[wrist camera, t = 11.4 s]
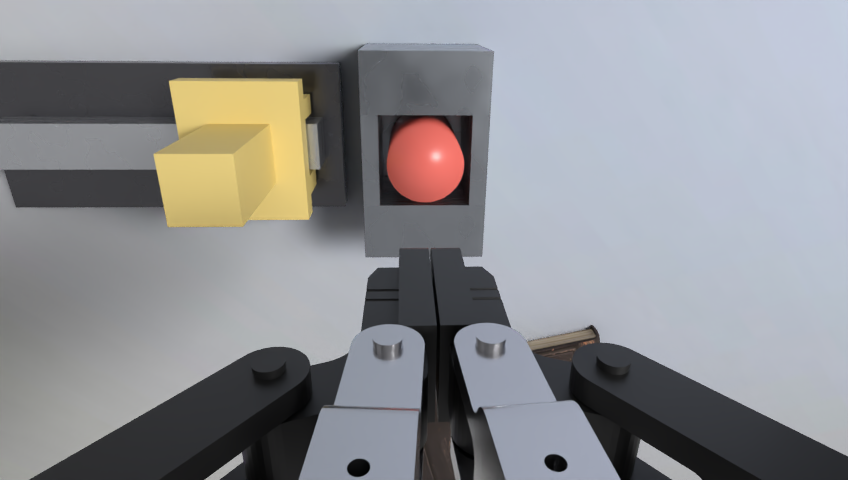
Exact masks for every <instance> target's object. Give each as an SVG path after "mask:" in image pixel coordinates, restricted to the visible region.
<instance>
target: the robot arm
mask: <svg viewBox="0 0 848 480" xmlns="http://www.w3.org/2000/svg"><path fill="white" fill-rule="evenodd" d="M435 393H436V402H437V414H438V422H450V428H451V443H450V454H451V460H452V465H453V470H454V475H455V480H671V479H670V478H668V477H667V476H665V475H664V474H662V473H661V472H659V471H657V470H656V469H654V468H653V467H651V466H650V465H648V464H647V463H645V462H644V461H642V460H640V459H639V458H637V452H638V448H639V443H640V439H642V440H643V441H645V442H646V443H648V444H650V445H651V446H653V447H655V448H656V449H658V450H659V451H661V452H663V453H664V454H666V455H668V456H669V457H671V458H672V459H674V460H676V461H677V462H679V463H681V464H682V465H684V466H685V467H687V468H689V469H690V470H692V471H693V472H695V473H696V474H697V475H698V476H699V477H700V478H701V479H702V480H848V456H846V455H843V454H841V453H839V452H837V451H835V450H833V449H831V448H829V447H827V446H825V445H823V444H821V443H819V442H817V441H815V440H813V439H811V438H809V437H807V436H805V435H803V434H801V433H799V432H797V431H795V430H793V429H791V428H789V427H787V426H785V425H783V424H781V423H779V422H777V421H775V420H773V419H771V418H769V417H767V416H765V415H763V414H761V413H758V412H756V411H754V410H752V409H750V408H748V407H746V406H744V405H742V404H740V403H738V402H736V401H734V400H732V399H730V398H728V397H726V396H724V395H722V394H720V393H718V392H716V391H714V390H712V389H710V388H708V387H706V386H704V385H702V384H700V383H698V382H696V381H694V380H692V379H690V378H688V377H686V376H684V375H682V374H680V373H678V372H676V371H674V370H671V369H669V368H667V367H665V366H663V365H661V364H659V363H657V362H655V361H653V360H651V359H649V358H647V357H645V356H643V355H641V354H639V353H637V352H635V351H633V350H631V349H628V348H626V347H623V346H620V345H615V344H610V343H592V344H587V345H584V346H582V347H580V348H578V349H577V350H576V351H575V353H574V354H573V358H572V362H569V361H564V360H558V359H553V358H549V357H544V356H541V355H538V354H536V353H534V352H532V351H531V349H530V347H529V345H528V343H527V341H526V339H525V338H524V337H523V336H522V335H521V334H520V333H519V332H518V331H516V330H514V329H512V328H511V326H510V323H509V320H508V317H507V315H506V312H505V309H504V306H503V303H502V300H501V297H500V294H499V291H498V290H497V285H496V282H495V279H494V276H492V275H491V274H490V273H489V272H488V271H486V270H485V269H484V268H483V267H465V266H464V262H463V258H462V253H461V249H460V248H431V250H430V257H429V249H428V248H399V268H377V269H376V270H375V271H374V272H373V273H372V274H371V275H370V277H369V278H368V283H367V292H366V298H365V306H364V313H363V321H362V329H361V332H360V333H359V334H357V335H356V336H355V338H354V339H353V341H352V343H351V346H350V350H349V353H347V354H346V355H344V356H342V357H340V358H338V359H335V360H332V361H329V362H325V363H321V364H316V365H312V366H310V362H309V360H308V358H307V356H306V355H305V354H303V353H302V352H300V351H298V350H296V349H292V348H287V347H270V348H265V349H261V350H257V351H254V352H252V353H249V354H247V355H245V356H244V357H242V358H240V359H238V360H237V361H235V362H233V363H231V364H230V365H228V366H226V367H225V368H223V369H221V370H219V371H218V372H216V373H214V374H212V375H211V376H209V377H207V378H205V379H204V380H202V381H200V382H198V383H197V384H195V385H193V386H191V387H190V388H188V389H186V390H185V391H183V392H181V393H179V394H178V395H176V396H174V397H172V398H171V399H169V400H167V401H165V402H164V403H162V404H160V405H158V406H157V407H155V408H153V409H151V410H150V411H148V412H146V413H145V414H143V415H141V416H139V417H138V418H136V419H134V420H132V421H131V422H129V423H127V424H125V425H124V426H122V427H120V428H118V429H117V430H115V431H113V432H111V433H110V434H108V435H106V436H105V437H103V438H101V439H99V440H98V441H96V442H94V443H92V444H91V445H89V446H87V447H85V448H84V449H82V450H80V451H78V452H77V453H75V454H73V455H71V456H70V457H68V458H66V459H65V460H63V461H61V462H59V463H58V464H56V465H54V466H52V467H51V468H49V469H47V470H45V471H44V472H42V473H40V474H38V475H37V476H35V477H33V478H31V479H30V480H204V479H206V478H207V477H209V476H210V475H211V474H213V473H214V472H215V471H217V470H218V469H219V468H221V467H222V466H224V465H225V464H226V463H228V462H229V461H230V460H232V459H233V458H234V457H236V456H237V455H239V454H240V453H241V452H242V455H243V461H244V462H243V463H241V464H240V465H239V466H237V467H236V468H235V469H233V470H232V471H231V472H229V473H228V474H227V475H225V476H224V477H223V478H221V479H220V480H423V462H424V444H425V443H426V440H427V423H431V422H435Z"/></svg>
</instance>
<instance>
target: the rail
mask: <svg viewBox="0 0 848 480" xmlns="http://www.w3.org/2000/svg"><path fill="white" fill-rule="evenodd" d="M177 78H263V79H302V85H303V94H310V102H311V114H310V115H309V116H308V117H307V118H306V119H305V123H306V136H307V148H308V161H309V169H316V182H317V184H316V186H315V188H314V190H313V192H312V194H311V198H312V206H346V203H347V188H346V169H345V150H344V130H343V111H342V92H341V72H340V63H318V62H155V61H0V170H5V173H6V176H7V180H8V183H9V186H10V189H11V192H12V196H13V199H14V202H15V205H16V207H164V205H163V200H162V195H161V190H160V185H159V180H158V175H157V170H156V165H155V160H154V153H156V152H158V151H160V150H161V149H163V148H165V147H167V146H169V145H170V144H172V143H174V142H176V141H178V140H179V136H178V131H177V125H176V119H175V114H174V108H173V102H172V97H171V91H170V85H169V81H170V80H174V79H177Z"/></svg>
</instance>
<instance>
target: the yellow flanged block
mask: <svg viewBox="0 0 848 480" xmlns="http://www.w3.org/2000/svg"><path fill="white" fill-rule="evenodd" d="M169 85H170V91H171V97H172V102H173V108H174V114H175V119H176V125H177V131H178V136H179V140H178V141H176V142H174V143H172V144H170V145H169V146H167V147H165V148H163V149H161V150H160V151H158V152H156V153H154V160H155V165H156V170H157V175H158V180H159V185H160V190H161V195H162V200H163V205H164V210H165V215H166V220H167V225H168V227H243V226H244V225H245V223H246V222H247V221H248V220H309V218H310V216H311V214H312V212H313V211H312V198H311V194H312V192H313V190H314V188H315V186H316V184H317V182H316V169H309V161H308V148H307V136H306V123H305V119H306V118H307V117H308V116H309V115H310V114H311V102H310V94H303V85H302V79H263V78H177V79H174V80H170V81H169Z"/></svg>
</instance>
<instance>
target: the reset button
mask: <svg viewBox="0 0 848 480" xmlns="http://www.w3.org/2000/svg"><path fill="white" fill-rule="evenodd" d="M463 171H464V158H463V154H462V151H461V148H460V146H459V144H458V141H457V139H456V136H455V134H454V131H453V129H452V127H451V125H450V123H449V122H448V121H447V119H446V118H445V117H443V116H442V115H402V116H401V117H400V118H399V119H398V120H397V121H396V123H395V124H394V126H393V128H392V131H391V134H390V140H389V149H388V157H387V172H388V176H389V179H390V181H391V183H392V185H393V186H394V188H395V189H396V190H397V191H398V192H399V193H400V194H401V195H403V196H404V197H406V198H408V199H410V200H413V201H417V202H433V201H437V200H440V199H442V198H444V197H446V196H447V195H449V194H450V193H451V192H452V191H453V190H454V189H455V188H456V187H457V185H458V184H459V182H460V180H461V178H462V175H463Z"/></svg>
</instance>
